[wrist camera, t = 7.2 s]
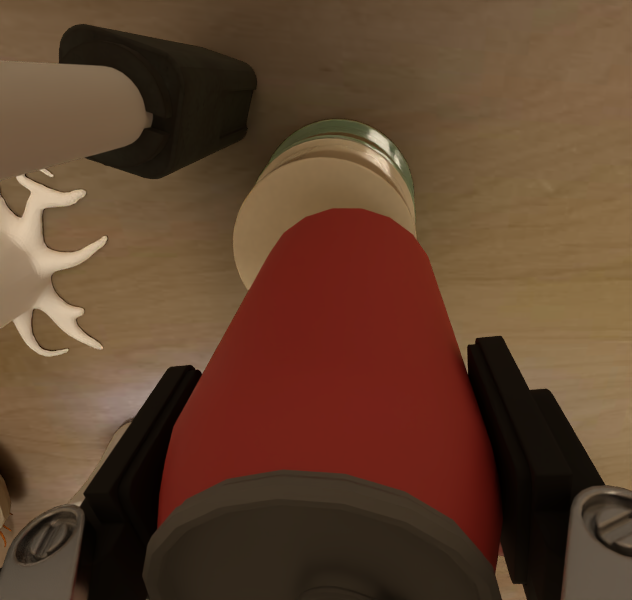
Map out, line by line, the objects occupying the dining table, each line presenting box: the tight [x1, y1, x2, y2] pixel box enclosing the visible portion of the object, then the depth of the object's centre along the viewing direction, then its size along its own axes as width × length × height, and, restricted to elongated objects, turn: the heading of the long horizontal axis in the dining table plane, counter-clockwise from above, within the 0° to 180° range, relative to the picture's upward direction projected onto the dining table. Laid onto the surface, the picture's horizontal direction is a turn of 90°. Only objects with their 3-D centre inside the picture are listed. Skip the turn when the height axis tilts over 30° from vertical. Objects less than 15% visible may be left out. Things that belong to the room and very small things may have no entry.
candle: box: [0, 24, 257, 181], centre depth 18 cm, size 5×5×25 cm
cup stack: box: [233, 118, 417, 291], centre depth 26 cm, size 11×11×11 cm
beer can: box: [142, 208, 503, 600], centre depth 12 cm, size 7×7×12 cm
